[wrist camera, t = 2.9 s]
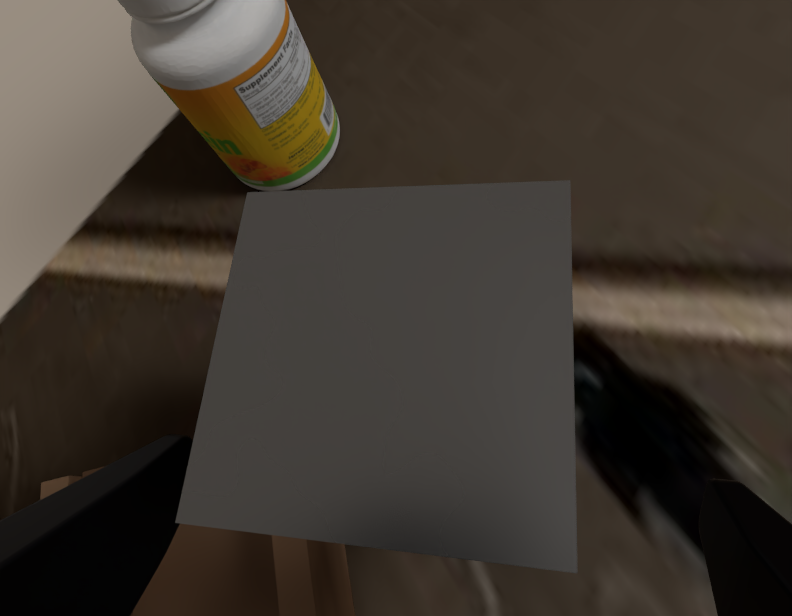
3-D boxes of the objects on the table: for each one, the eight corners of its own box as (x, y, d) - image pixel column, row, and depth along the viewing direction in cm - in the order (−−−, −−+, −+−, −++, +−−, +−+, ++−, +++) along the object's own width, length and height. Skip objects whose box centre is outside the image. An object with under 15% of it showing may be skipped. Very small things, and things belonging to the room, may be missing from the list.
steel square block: (535, 528, 17) (578, 573, 5) (398, 513, 18) (175, 522, 6) (536, 389, 18) (570, 180, 7) (409, 382, 19) (246, 192, 8)
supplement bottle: (209, 157, 25) (38, -40, 16) (289, 79, 25) (168, -152, 17) (281, 217, 23) (130, 30, 14) (367, 130, 23) (275, -101, 14)
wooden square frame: (373, 716, 16) (335, 771, 13) (118, 762, 17) (22, 824, 14) (329, 433, 19) (290, 418, 16) (118, 486, 20) (41, 482, 17)
